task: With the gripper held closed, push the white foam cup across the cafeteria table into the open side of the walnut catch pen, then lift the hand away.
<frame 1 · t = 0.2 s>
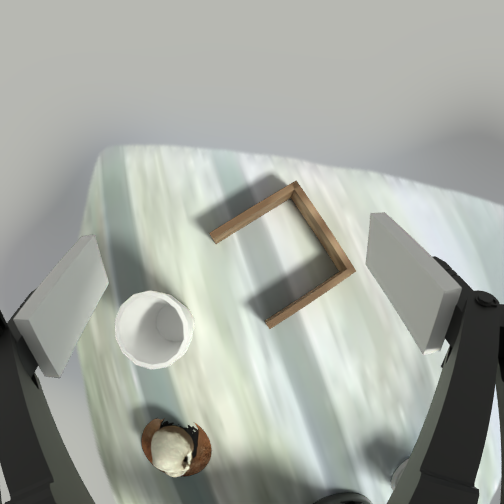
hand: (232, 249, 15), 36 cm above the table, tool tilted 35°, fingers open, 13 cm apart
white and brown lump: (176, 445, 47), on the table
foam cup: (175, 322, 49), on the table
catch pen: (278, 257, 51), on the table
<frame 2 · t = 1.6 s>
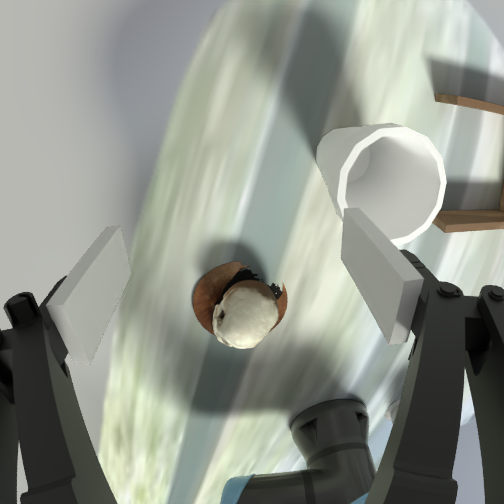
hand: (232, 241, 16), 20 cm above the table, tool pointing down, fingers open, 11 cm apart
white and brown lump: (240, 301, 42), on the table
foam cup: (342, 155, 34), on the table
catch pen: (473, 160, 34), on the table
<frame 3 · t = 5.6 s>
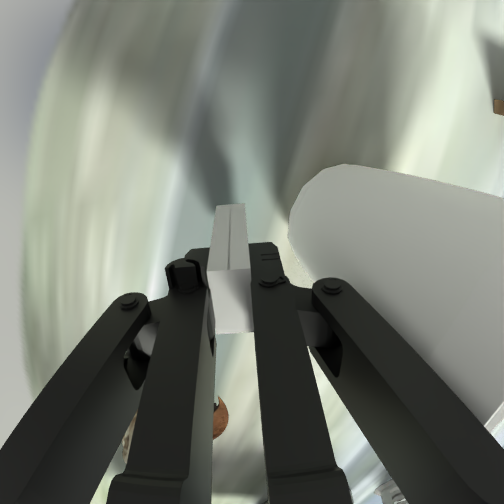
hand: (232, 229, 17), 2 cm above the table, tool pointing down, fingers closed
white and brown lump: (163, 409, 27), on the table
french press: (403, 481, 42), on the table
foam cup: (335, 218, 18), point 1 cm above the table, touching gripper, hand
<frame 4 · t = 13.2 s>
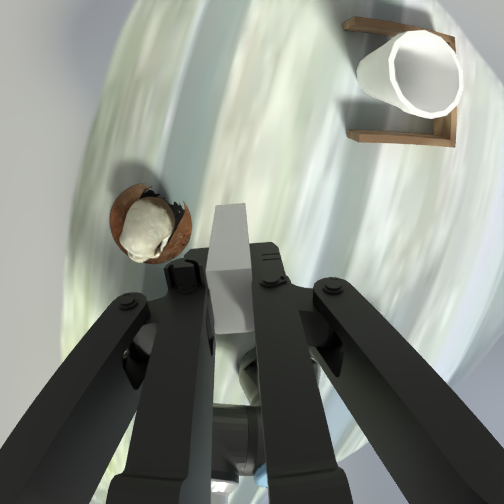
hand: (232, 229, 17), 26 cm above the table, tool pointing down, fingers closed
white and brown lump: (150, 223, 45), on the table
foam cup: (377, 76, 36), on the table
catch pen: (393, 83, 37), on the table
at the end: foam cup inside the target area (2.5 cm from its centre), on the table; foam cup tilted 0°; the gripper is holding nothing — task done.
